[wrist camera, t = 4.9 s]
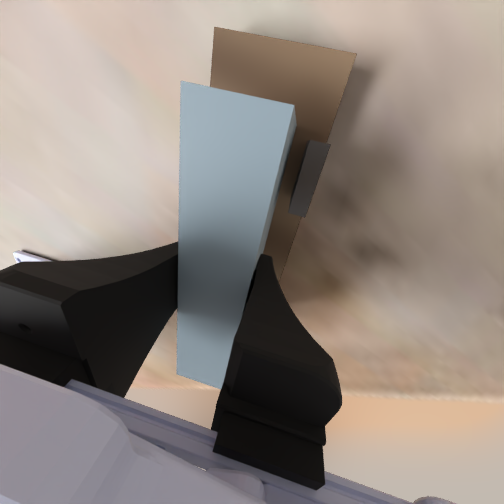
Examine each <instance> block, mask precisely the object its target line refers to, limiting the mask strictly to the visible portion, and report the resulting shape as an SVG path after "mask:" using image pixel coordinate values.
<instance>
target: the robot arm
mask: <svg viewBox="0 0 504 504" xmlns="http://www.w3.org/2000/svg"><path fill="white" fill-rule="evenodd" d="M13 255H14V257H15V259H16V261H17V264H15V265H12V266H10V267H7V268H5V269H3V270H0V504H456V503H453V502H450V501H447V500H444V499H441V498H437V497H429V496H427V497H421V498H419V499H417V500H415V501H414V503H411V502H408V501H406V500H403V499H400V498H397V497H395V496H392V495H389V494H386V493H384V492H381V491H378V490H375V489H373V488H370V487H367V486H364V485H362V484H359V483H356V482H353V481H350V480H348V479H345V478H342V477H340V476H337V475H334V474H331V473H329V472H326V471H324V461H323V460H324V459H323V446H324V445H325V444H326V434H325V425H326V424H327V423H328V422H329V421H330V420H331V419H332V418H333V417H334V415H335V414H336V413H337V412H338V411H339V409H340V408H341V406H342V394H341V388H340V383H339V379H338V375H337V372H336V368H335V365H334V362H333V359H332V358H331V357H330V356H329V355H328V354H327V353H326V351H325V350H324V349H323V348H322V347H321V346H320V345H319V344H318V343H317V342H316V341H315V340H314V339H313V338H312V336H311V335H310V334H309V333H308V332H307V330H306V329H305V328H304V327H303V325H302V324H301V323H300V321H299V320H298V318H297V317H296V316H295V314H294V313H293V311H292V309H291V308H290V306H289V304H288V302H287V301H286V299H285V297H284V294H283V292H282V290H281V288H280V285H279V282H278V280H277V276H276V273H275V269H274V265H273V258H272V256H268V255H265V254H261V255H260V257H259V260H258V263H257V267H256V271H255V275H254V279H253V282H252V286H251V290H250V294H249V298H248V302H247V306H246V308H245V311H244V314H243V316H242V319H241V321H240V324H239V327H238V329H237V332H236V334H235V337H234V340H233V344H232V348H231V353H230V357H229V361H228V365H227V369H226V374H225V378H224V382H223V385H222V388H221V391H220V394H219V397H218V401H217V404H216V410H215V414H214V418H213V423H212V427H211V430H210V429H208V428H205V427H202V426H199V425H197V424H194V423H191V422H188V421H186V420H183V419H180V418H177V417H175V416H172V415H169V414H166V413H164V412H161V411H158V410H155V409H153V408H150V407H147V406H144V405H142V404H139V403H136V402H133V401H131V400H128V399H125V398H124V397H125V395H126V393H127V391H128V390H129V388H130V386H131V384H132V382H133V380H134V378H135V376H136V375H137V373H138V371H139V369H140V367H141V366H142V364H143V362H144V360H145V358H146V357H147V355H148V353H149V351H150V350H151V348H152V346H153V345H154V343H155V341H156V340H157V338H158V336H159V334H160V333H161V331H162V330H163V328H164V326H165V325H166V323H167V322H168V320H169V318H170V317H171V316H172V314H173V313H174V311H175V310H176V309H177V308H178V242H175V243H172V244H169V245H166V246H162V247H159V248H155V249H152V250H148V251H144V252H139V253H134V254H129V255H123V256H116V257H108V258H101V259H90V260H75V261H51V260H48V259H45V258H41V257H38V256H35V255H32V254H29V253H25V252H22V251H15V252H13ZM194 465H195V466H194ZM196 466H197V467H196ZM198 467H200V468H203V469H205V470H206V471H204V470H202V469H200V468H198Z"/></svg>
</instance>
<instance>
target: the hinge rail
mask: <svg viewBox="0 0 504 504" xmlns="http://www.w3.org/2000/svg"><path fill="white" fill-rule="evenodd" d="M356 55H357V54H356V53H351V52H345V51H340V50H335V49H329V48H324V47H319V46H314V45H308V44H303V43H298V42H292V41H287V40H282V39H277V38H271V37H266V36H261V35H255V34H250V33H245V32H239V31H234V30H229V29H224V28H218V27H214V39H213V53H212V67H211V81H210V87H213V88H217V89H222V90H227V91H231V92H236V93H240V94H245V95H250V96H254V97H259V98H264V99H268V100H273V101H278V102H282V103H287V104H292V105H294V107H295V115H296V123H297V126H296V130H295V134H294V138H293V141H292V145H291V149H290V153H289V157H288V160H287V164H286V168H285V172H284V175H283V179H282V183H281V187H280V191H279V194H278V198H277V202H276V206H275V209H274V213H273V217H272V221H271V225H270V228H269V232H268V236H267V240H266V244H265V247H264V251H263V254H265V255H268V256H272V258H273V265H274V269H275V273H276V276H277V280H278V282H279V281H280V278H281V275H282V272H283V269H284V266H285V263H286V260H287V257H288V254H289V251H290V248H291V245H292V243H293V240H294V237H295V234H296V231H297V228H298V225H299V222H300V219H301V217H305V216H306V213H307V211H308V208H309V205H310V202H311V199H312V196H313V194H314V191H315V188H316V185H317V182H318V179H319V176H320V174H321V171H322V168H323V165H324V162H325V159H326V157H327V154H328V151H329V148H330V144H326V143H327V140H328V137H329V134H330V131H331V128H332V125H333V122H334V119H335V116H336V113H337V110H338V107H339V105H340V102H341V99H342V96H343V93H344V90H345V87H346V84H347V81H348V78H349V75H350V72H351V69H352V66H353V63H354V61H355V58H356Z"/></svg>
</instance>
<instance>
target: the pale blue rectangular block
mask: <svg viewBox="0 0 504 504" xmlns="http://www.w3.org/2000/svg"><path fill="white" fill-rule="evenodd" d="M296 126H297V123H296V115H295V107H294V105H292V104H287V103H282V102H278V101H273V100H268V99H264V98H259V97H254V96H250V95H245V94H240V93H236V92H231V91H227V90H222V89H217V88H213V87H208V86H203V85H199V84H194V83H189V82H185V81H181V98H180V169H179V240H178V310H177V374H178V375H181V376H184V377H186V378H189V379H192V380H195V381H198V382H201V383H204V384H207V385H210V386H213V387H216V388H219V389H221V388H222V385H223V382H224V378H225V374H226V369H227V365H228V361H229V357H230V353H231V348H232V344H233V340H234V337H235V334H236V332H237V329H238V327H239V324H240V321H241V319H242V316H243V314H244V311H245V308H246V306H247V302H248V298H249V294H250V290H251V286H252V282H253V279H254V275H255V271H256V267H257V263H258V260H259V257H260V255H261V254H263V251H264V247H265V244H266V240H267V236H268V232H269V228H270V225H271V221H272V217H273V213H274V209H275V206H276V202H277V198H278V194H279V191H280V187H281V183H282V179H283V175H284V172H285V168H286V164H287V160H288V157H289V153H290V149H291V145H292V141H293V138H294V134H295V130H296Z"/></svg>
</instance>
